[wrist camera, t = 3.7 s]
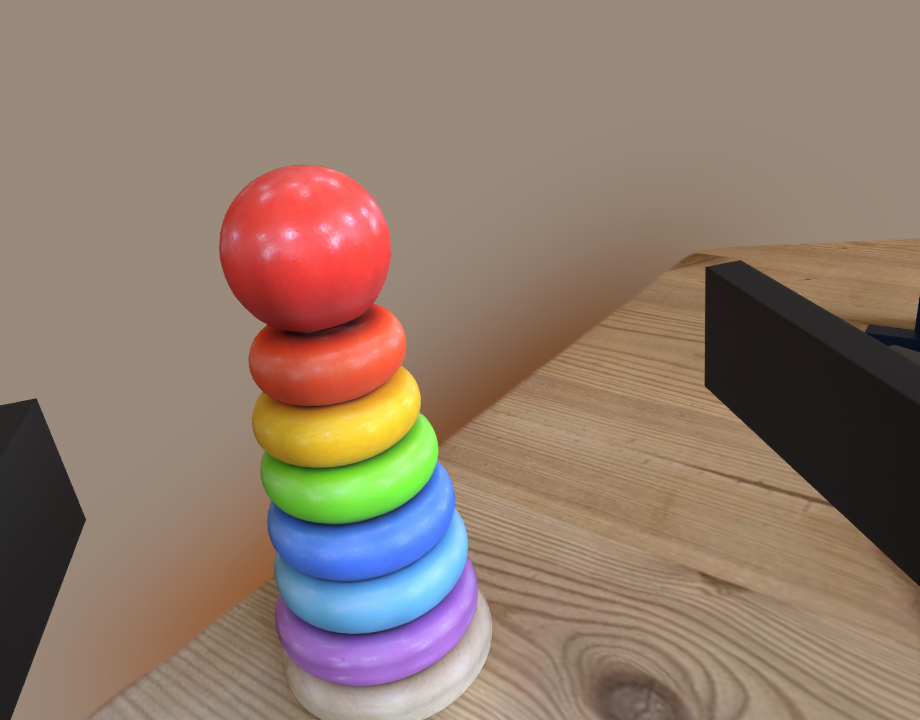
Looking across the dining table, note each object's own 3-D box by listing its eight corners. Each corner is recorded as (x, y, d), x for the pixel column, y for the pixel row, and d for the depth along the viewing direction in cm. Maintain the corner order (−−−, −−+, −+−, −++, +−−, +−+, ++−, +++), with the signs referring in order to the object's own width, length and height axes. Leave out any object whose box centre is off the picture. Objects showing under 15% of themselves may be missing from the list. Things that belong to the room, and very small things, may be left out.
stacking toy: (538, 652, 30) (485, 151, 22) (360, 789, 26) (212, 232, 18) (415, 556, 36) (337, 132, 28) (253, 655, 32) (104, 189, 24)
